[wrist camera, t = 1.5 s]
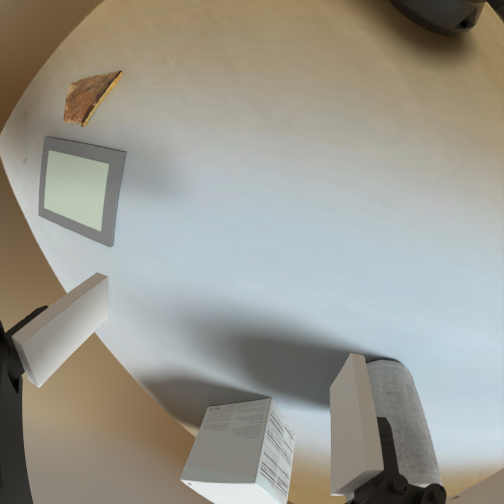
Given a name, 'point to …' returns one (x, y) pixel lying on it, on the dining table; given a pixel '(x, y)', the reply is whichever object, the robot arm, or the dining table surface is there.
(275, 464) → the supplement box
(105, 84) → the shard
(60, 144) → the mat
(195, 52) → the dining table surface
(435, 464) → the grey stoneware bottle
